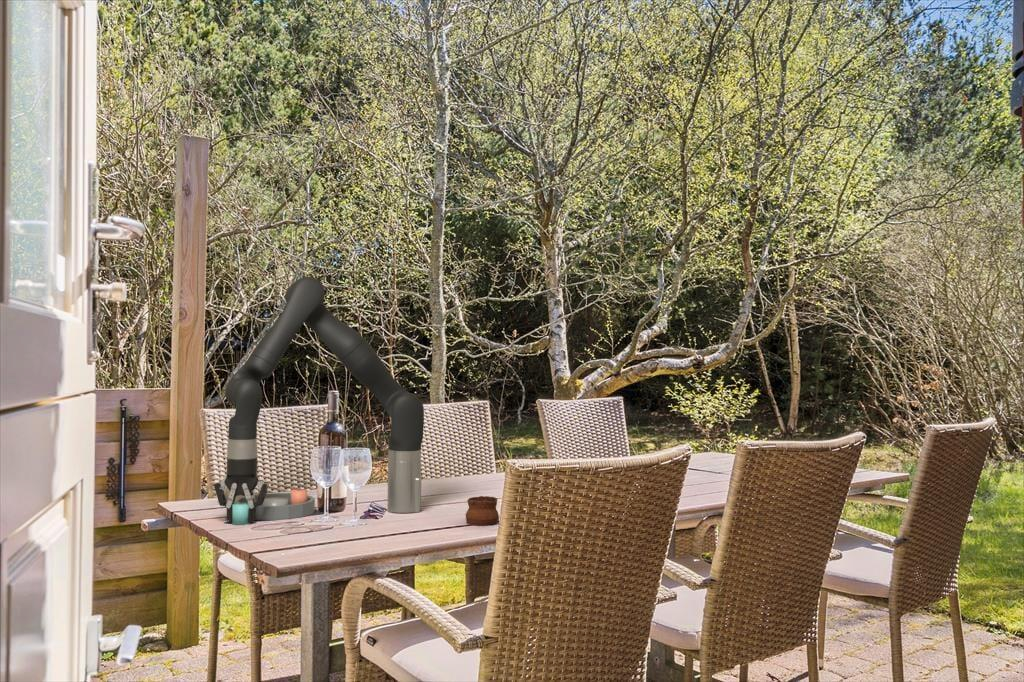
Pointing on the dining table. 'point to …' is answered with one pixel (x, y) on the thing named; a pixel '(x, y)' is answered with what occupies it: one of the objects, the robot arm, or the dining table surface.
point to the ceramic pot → (482, 511)
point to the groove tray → (281, 507)
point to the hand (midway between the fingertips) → (240, 522)
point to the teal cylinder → (240, 513)
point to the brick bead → (298, 496)
